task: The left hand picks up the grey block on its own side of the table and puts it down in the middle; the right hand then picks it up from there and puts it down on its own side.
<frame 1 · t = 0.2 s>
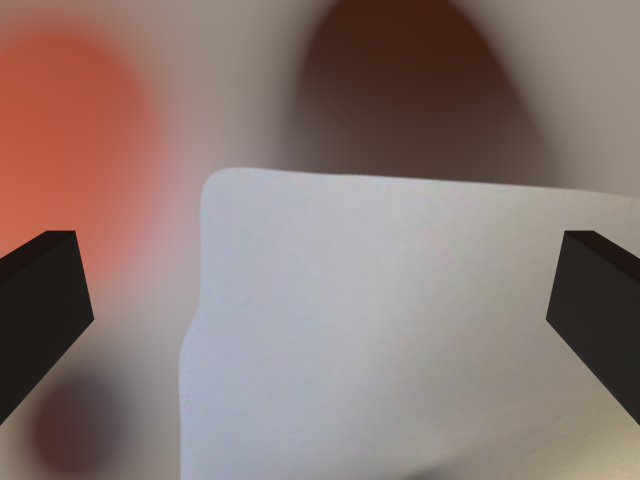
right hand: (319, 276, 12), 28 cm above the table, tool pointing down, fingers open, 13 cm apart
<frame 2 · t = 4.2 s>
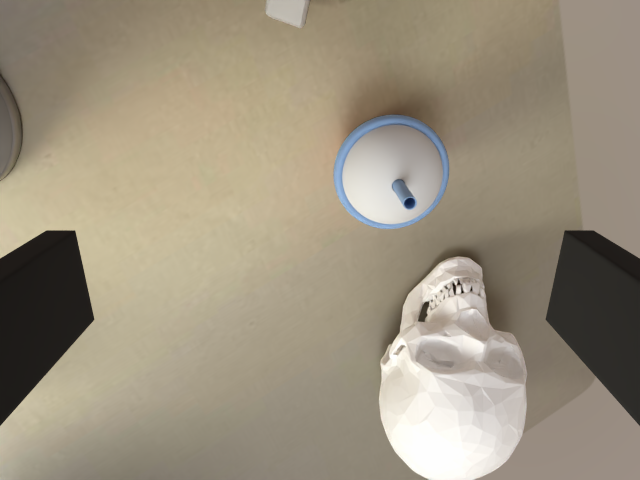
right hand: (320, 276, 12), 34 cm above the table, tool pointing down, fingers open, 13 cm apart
skull: (434, 334, 53), on the table
cup with straw: (375, 150, 45), on the table
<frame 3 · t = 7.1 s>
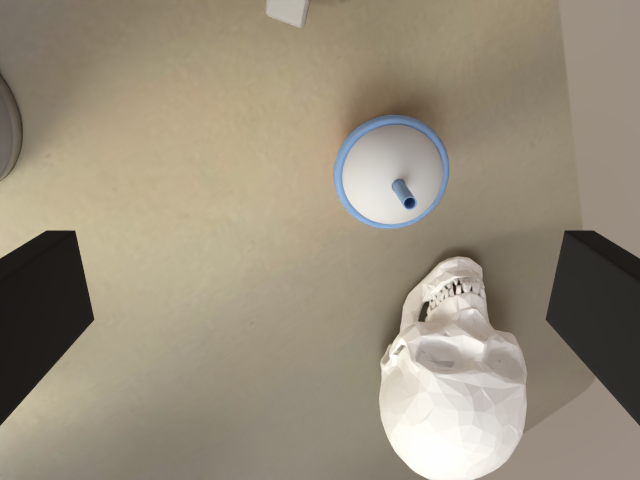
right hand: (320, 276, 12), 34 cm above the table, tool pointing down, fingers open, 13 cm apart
skull: (434, 334, 53), on the table
cup with straw: (375, 150, 45), on the table
when the left hand's fingers open (2 cm above the table, at t = 9.9 s): grey block stays where it is, on the table.
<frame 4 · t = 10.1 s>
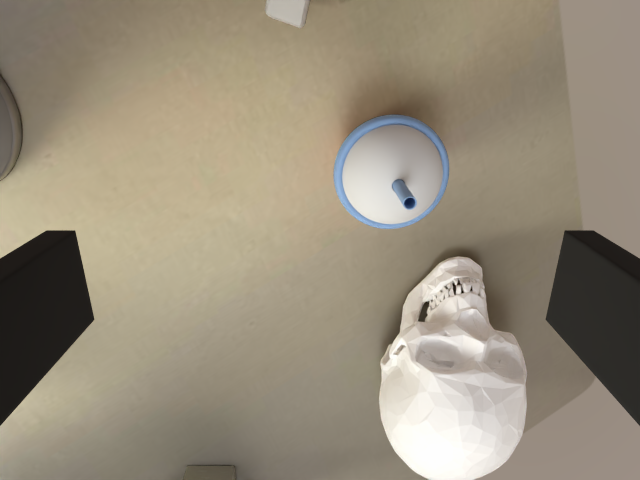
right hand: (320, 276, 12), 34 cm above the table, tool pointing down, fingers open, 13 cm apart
skull: (434, 334, 53), on the table
cup with straw: (375, 150, 45), on the table
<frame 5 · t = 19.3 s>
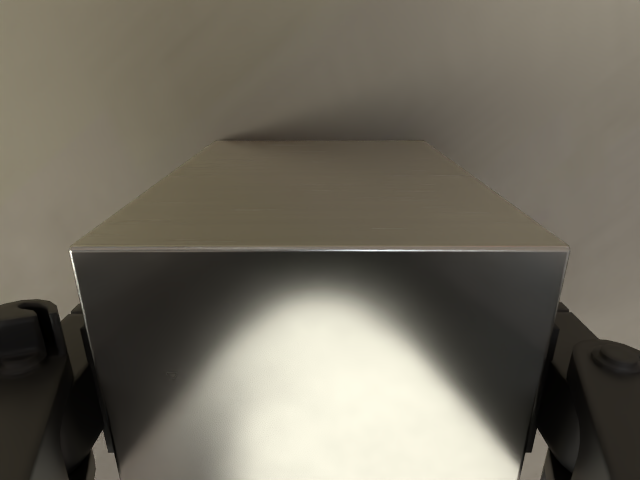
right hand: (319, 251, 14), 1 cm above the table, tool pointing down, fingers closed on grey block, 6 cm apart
grey block: (319, 241, 15), on the table, touching right hand
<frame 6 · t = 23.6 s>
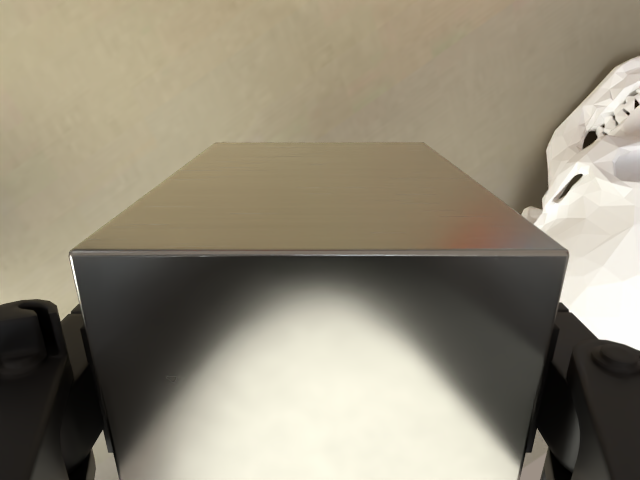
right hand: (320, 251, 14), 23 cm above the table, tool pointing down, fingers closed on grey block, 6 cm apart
grey block: (319, 242, 15), point 22 cm above the table, touching right hand
skull: (585, 198, 37), on the table
when the right hand's fingers open (2 cm above the table, at t = 28.0 s): grey block stays where it is, on the table.
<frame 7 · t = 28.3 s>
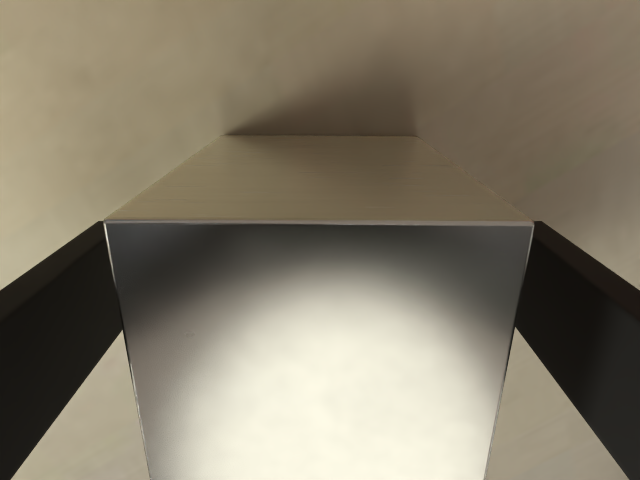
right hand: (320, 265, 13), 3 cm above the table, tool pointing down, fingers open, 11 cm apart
grey block: (318, 230, 16), on the table
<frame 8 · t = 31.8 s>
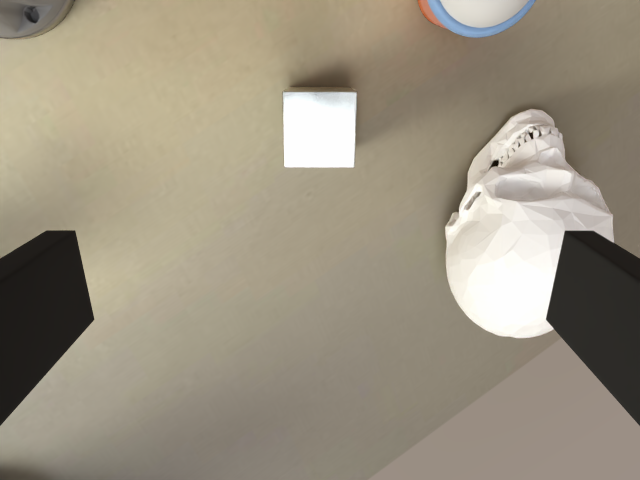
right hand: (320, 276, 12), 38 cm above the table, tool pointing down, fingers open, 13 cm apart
grey block: (319, 119, 47), on the table
skull: (498, 206, 51), on the table
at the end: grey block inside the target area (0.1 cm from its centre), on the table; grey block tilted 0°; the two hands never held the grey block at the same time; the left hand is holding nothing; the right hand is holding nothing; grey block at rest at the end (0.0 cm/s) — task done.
